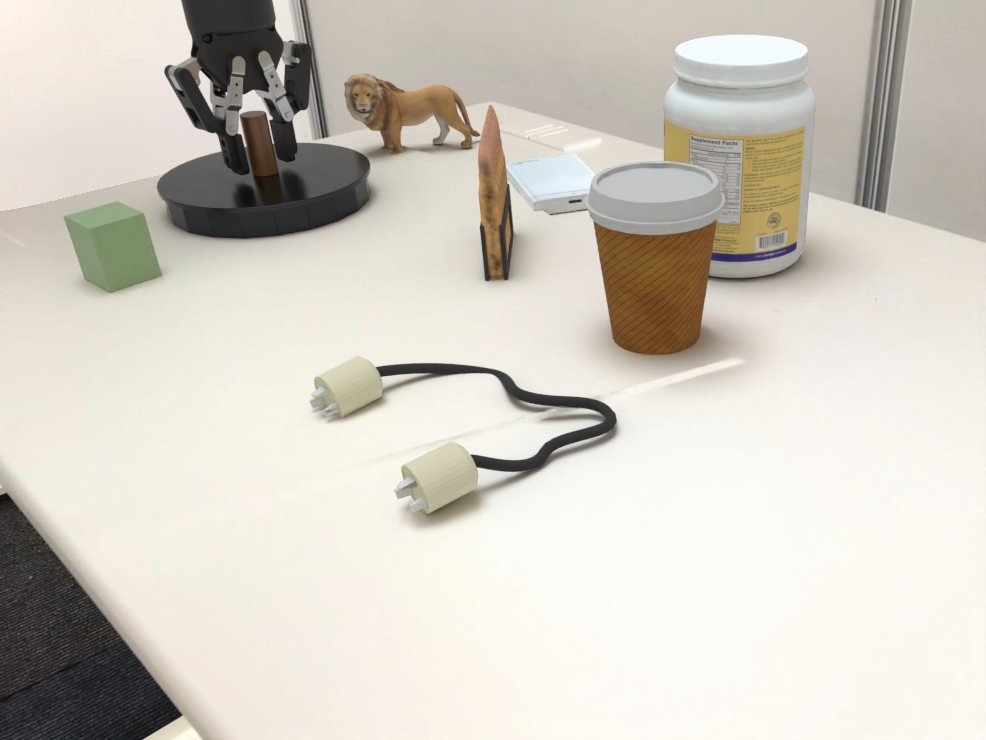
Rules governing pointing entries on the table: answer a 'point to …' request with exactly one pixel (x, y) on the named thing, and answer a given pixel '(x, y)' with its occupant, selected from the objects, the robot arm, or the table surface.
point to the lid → (263, 175)
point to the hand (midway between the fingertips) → (263, 165)
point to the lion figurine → (404, 109)
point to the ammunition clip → (494, 202)
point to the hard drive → (552, 182)
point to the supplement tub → (747, 143)
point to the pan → (271, 217)
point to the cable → (451, 463)
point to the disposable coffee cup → (655, 250)
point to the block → (113, 246)
